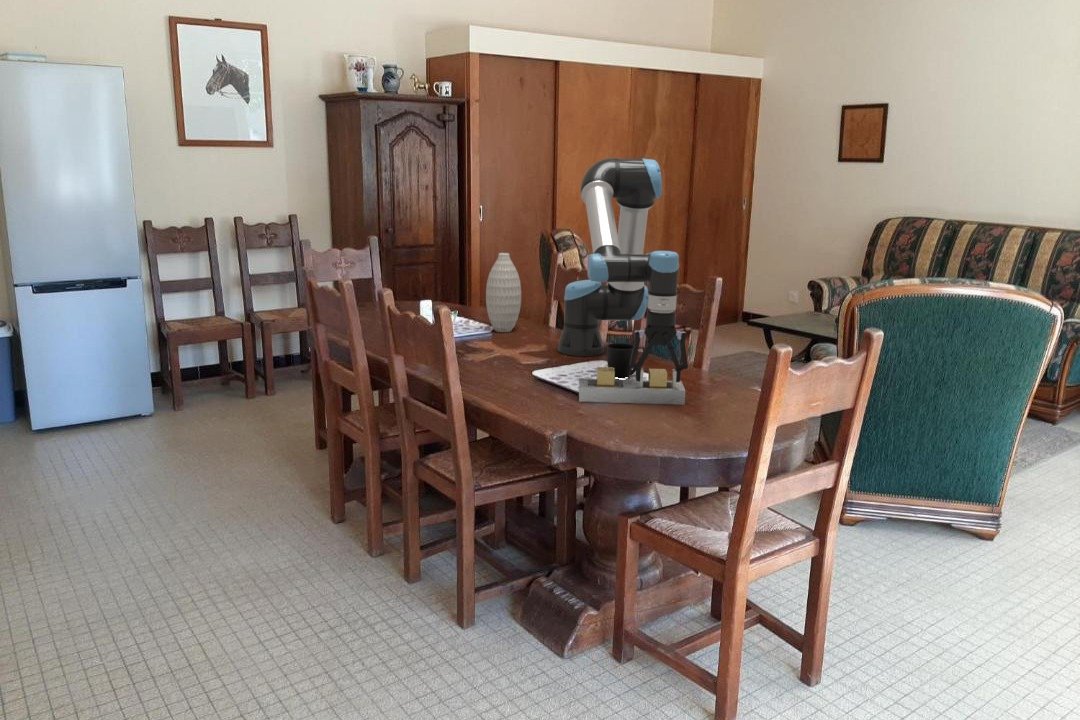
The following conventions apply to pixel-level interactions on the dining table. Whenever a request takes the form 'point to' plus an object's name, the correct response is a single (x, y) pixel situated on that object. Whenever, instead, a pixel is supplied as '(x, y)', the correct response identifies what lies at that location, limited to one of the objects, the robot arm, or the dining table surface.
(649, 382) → the yellow rectangular block
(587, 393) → the rail
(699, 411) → the dining table surface
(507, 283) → the vase
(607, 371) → the tan wooden brick
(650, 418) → the dining table surface
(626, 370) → the mug
